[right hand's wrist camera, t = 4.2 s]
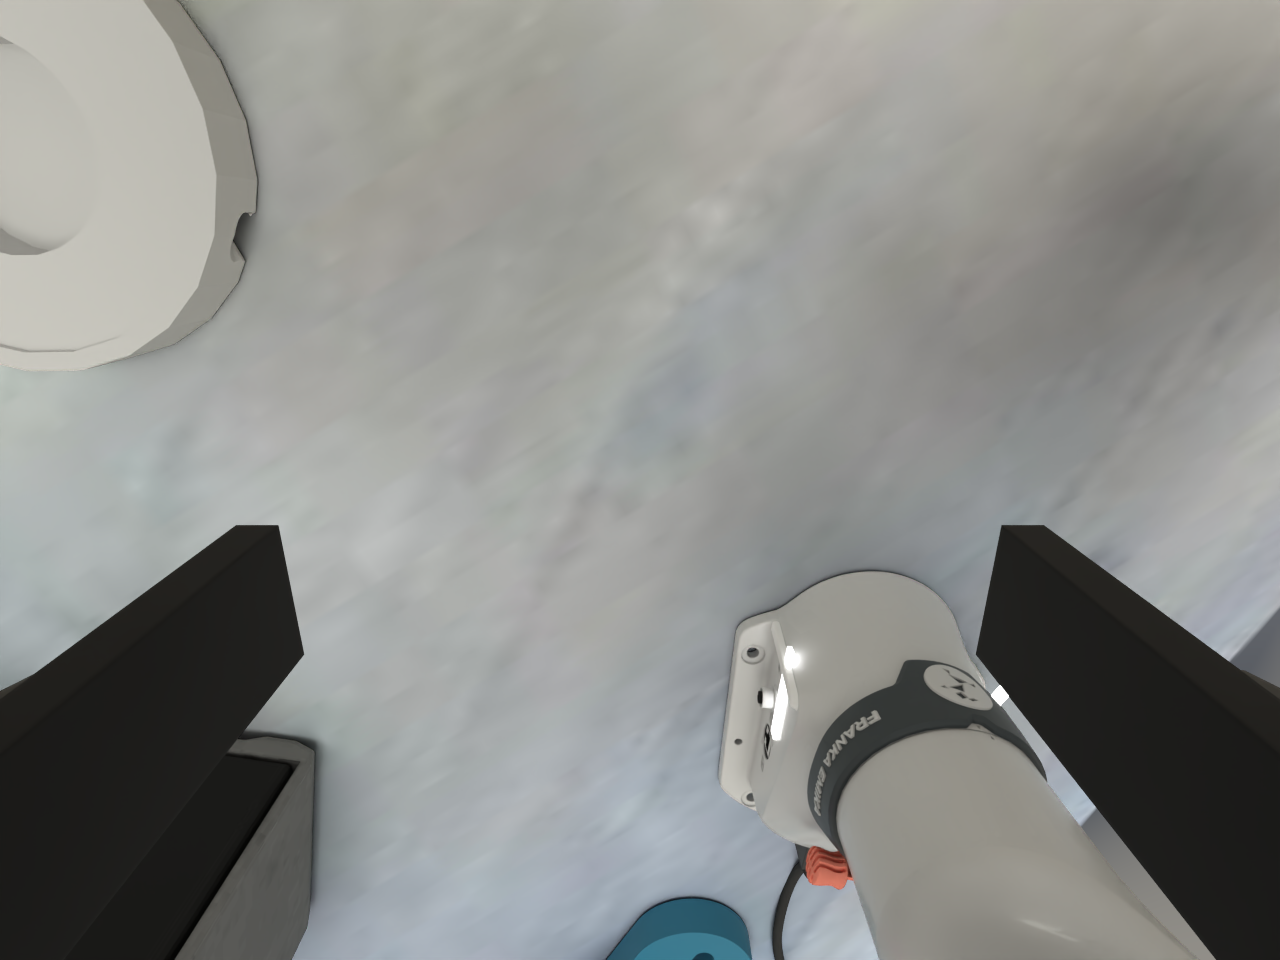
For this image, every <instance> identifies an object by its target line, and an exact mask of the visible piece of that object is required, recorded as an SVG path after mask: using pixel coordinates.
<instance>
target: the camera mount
mask: <svg viewBox="0 0 1280 960" xmlns="http://www.w3.org/2000/svg"><path fill="white" fill-rule="evenodd" d="M607 960H752V955H751V949H750V942H749V936H748V931H747V928H746V926H745V924H744V922H743V921H742V920H741V918H740V917H739V916H738V915H737V914H736V913H735V912H733V911H732V910H731V909H729V908H728V907H726V906H724V905H722V904H719V903H716V902H713V901H709V900H703V899H680V900H674V901H670V902H666V903H663V904H661V905H658V906H656V907H654V908H652V909H651V910H649V911H648V912H646V913H645V914H644V915H643V916H641V917H640V918H639V920H638V921H637V922H636V923H635V924H634V926H633V927H632V928H631V930H630V931H629V932H628V933H627V935H626V936H625V937H624V938H623V940H622V941H621V942H620V943H619V945H618V946H617V947H616V948H615V950H614V951H613V952H612V953H611V955H610V956H609V957H608V959H607Z"/></svg>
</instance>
